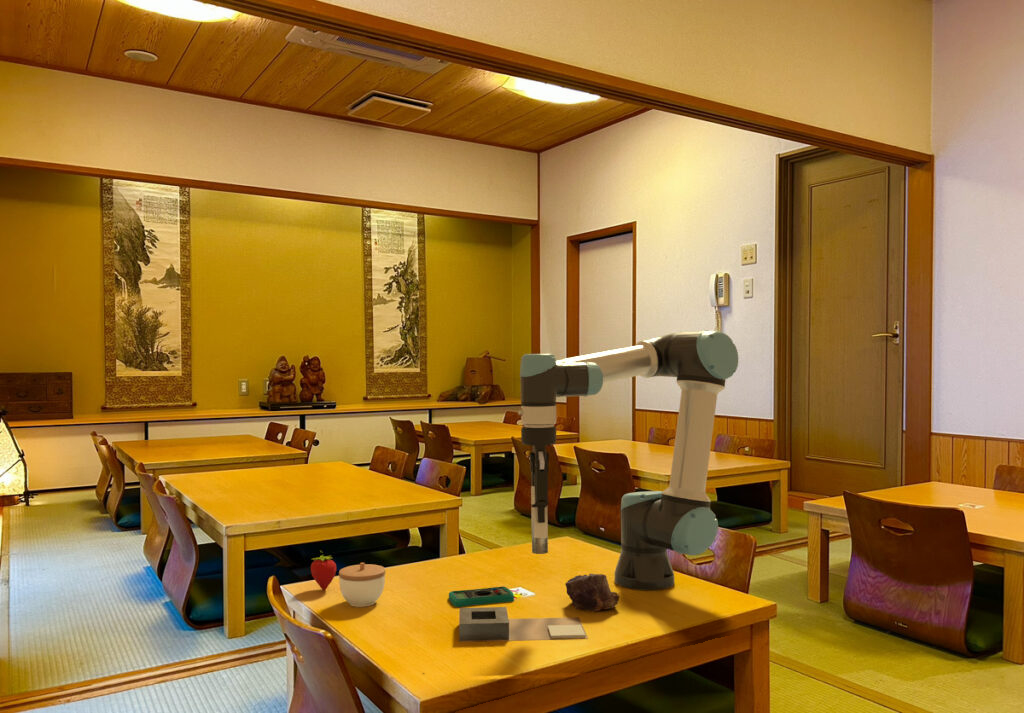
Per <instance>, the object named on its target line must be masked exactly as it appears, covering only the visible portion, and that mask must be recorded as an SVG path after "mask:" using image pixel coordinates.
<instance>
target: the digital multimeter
mask: <svg viewBox="0 0 1024 713" xmlns="http://www.w3.org/2000/svg"><path fill="white" fill-rule="evenodd" d="M448 600H449V602H450V603H451V605H453V606H454V607H455V608H464V607H471V606H478V605H479V606H481V605H486V604H487V605H488V604H490V605H491V604H499V603H511V602H512V603H513V602H514V601H515V594H514V592H513V591H512V590H511V589H509V588H508V587H506V586H504V585H503V586H494V587H485V588H475V589H464V590H463V589H462V590H451V591H450V592H449V593H448Z"/></svg>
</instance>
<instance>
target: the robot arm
mask: <svg viewBox="0 0 1024 713" xmlns="http://www.w3.org/2000/svg"><path fill="white" fill-rule="evenodd" d="M738 366H739V352H738V348H737V345H736V344H735V343H734V341H733V339H732V338H731V337H730V336H729V335H727V333H724V332H722V331H718V330H701V331H700V330H697V331H684V332H682V331H680V332H679V331H678V332H672V333H668V334H664V335H661V336H657V337H654V338H649V339H646V340H641V341H638V342H637V343H635V345H633V346H628V347H623V348H622V347H621V348H617V349H616V348H615V349H611V350H610V349H609V350H605V351H600V352H599V351H598V352H593V353H589V354H583V355H577V356H572V357H571V356H570V357H566V358H560V359H556V355H555V354H553V353H525V354H524V355H522V356H521V358H520V368H519V369H520V371H519V372H520V373H519V377H520V405H521V407H520V408H521V409H519V410H518V411H517V412H518V413H517V414H518V415H520V419H521V420H520V421H521V424H522V425H523V426H522V427H521V429H520V430H521V431H520V434H521V435H520V436H521V438H520V440H521V444H522V445H525V446H532V452H529V454H528V459H529V462H530V463H529V467H530V469H529V470H530V474H531V475H530V476H531V486H534V484H535V503H534V504H531V503H530V504H531V505H532V507H534V537H535V538H547V521H548V506H549V476H548V474H549V462H550V453H549V452H548V451H547V450H546V446H552V445H555V444H556V443H557V428H556V426H555V425H556V424H557V398H561V397H564V398H565V397H588V396H595V395H598V393H600V391H601V390H602V387H603V384H604V383H608V382H612V381H613V382H614V381H618V380H623V379H628V378H633V377H638V376H640V377H642V378H647V379H648V378H653V377H654V378H655V377H670V378H676V383H677V385H678V386H679V388H680V390H681V392H680V393H681V395H680V400H679V409H678V416H677V424H676V430H675V439H674V445H673V446H674V448H673V453H672V455H673V456H672V463H671V469H670V478H669V483H668V485H669V486H668V487H666V488H665V489H663V490H662V491H661V490H655V491H654V490H649V491H637V492H636V491H635V492H628V493H625V494H623V496H622V497H621V501H620V502H621V503H620V504H621V505H620V533H621V534H620V535H621V536H620V540H621V541H620V542H621V544H620V545H621V546H620V547H621V549H620V555H619V558H618V561H617V564H616V567H615V570H614V583H616V585H619V586H621V587H624V588H627V589H630V590H631V589H632V590H638V591H639V590H641V591H660V590H665V589H669V588H671V587H673V586H674V585H675V572H674V570H673V567H672V564H671V561H670V557H669V555H668V550H670V551H672V552H675V553H677V554H680V555H688V556H698V555H702V554H703V553H705V552H706V551H707V550H708V549H709V548H710V547H711V546H712V545H713V544H714V542H715V540H716V538H717V534H718V529H719V523H718V522H719V521H718V518H716V517H717V516H716V514H715V513H714V512H713V511H712V509H711V499H710V497H709V496H708V495H707V492H706V489H707V488H706V487H707V481H708V480H707V479H708V471H709V463H710V456H711V449H712V448H711V447H712V442H713V440H712V439H713V431H714V424H715V423H714V422H715V416H716V408H717V400H718V395H719V393H721V392H722V391H724V390H725V388H726V387H725V386H726V381H727V379H729V378H732V377H733V375H734V374H735V373H736V371H737V370H738Z"/></svg>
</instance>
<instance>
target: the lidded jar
mask: <svg viewBox="0 0 1024 713" xmlns="http://www.w3.org/2000/svg"><path fill="white" fill-rule="evenodd" d="M338 577H339V588H340V593H341V595H342V597H343V599H344V600H345V601H346V603H347V602H348V604H350V605H351V607H354V606H355V607H354V608H363V607H365V608H366V607H370V606H373V605H375V604H376V601H378V600H379V598H380V597H381V595H382V594H383V591H384V589H385V582H386V580H385V578H386V567H384V566H383V565H377V564H372V563H371V564H366V563H365V562H360V563H359V564H354V565H353V564H352V565H348V566H345V567H343V568H341V569H340V570H339V572H338ZM350 605H349V606H350Z"/></svg>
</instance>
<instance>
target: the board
mask: <svg viewBox="0 0 1024 713" xmlns="http://www.w3.org/2000/svg"><path fill="white" fill-rule="evenodd" d="M508 620H509V640H477V641H459V640H458V641H459V643H470V642H471V643H473V642H474V643H477V642H478V643H479V642H480V643H481V642H482V643H483V642H515V641H518V642H519V641H520V642H521V641H552V640H553V641H556V640H561V641H562V640H589V637H588V635H587V633H586V631H585V630H586V629H585V628H584V626H583V623H582V621H581V619H580V617H578V616H576V617H575V616H574V617H573V616H572V617H540V618H539V617H536V618H535V617H533V618H532V617H531V618H527V617H526V618H508ZM549 625H581V626H582V628H583V631H584V633H585V638H557V639H551V637H550V634H549V630H548V626H549Z"/></svg>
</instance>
